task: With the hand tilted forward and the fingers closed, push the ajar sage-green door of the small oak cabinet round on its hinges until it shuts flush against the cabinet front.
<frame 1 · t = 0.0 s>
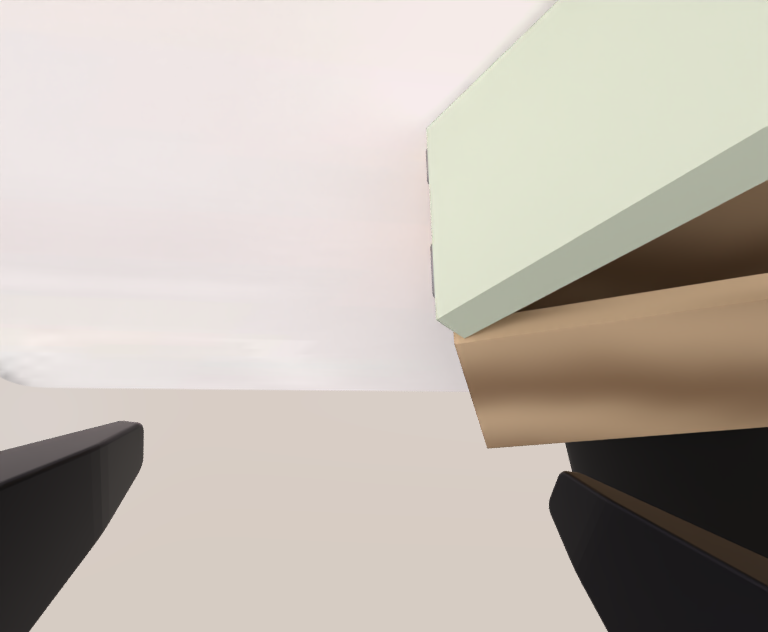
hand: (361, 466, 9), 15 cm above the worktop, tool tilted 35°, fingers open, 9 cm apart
cabinet: (620, 178, 20), on the worktop
coffee jar: (620, 319, 28), on the worktop
door: (668, 7, 10), point 6 cm above the worktop, hinge at 30.0°
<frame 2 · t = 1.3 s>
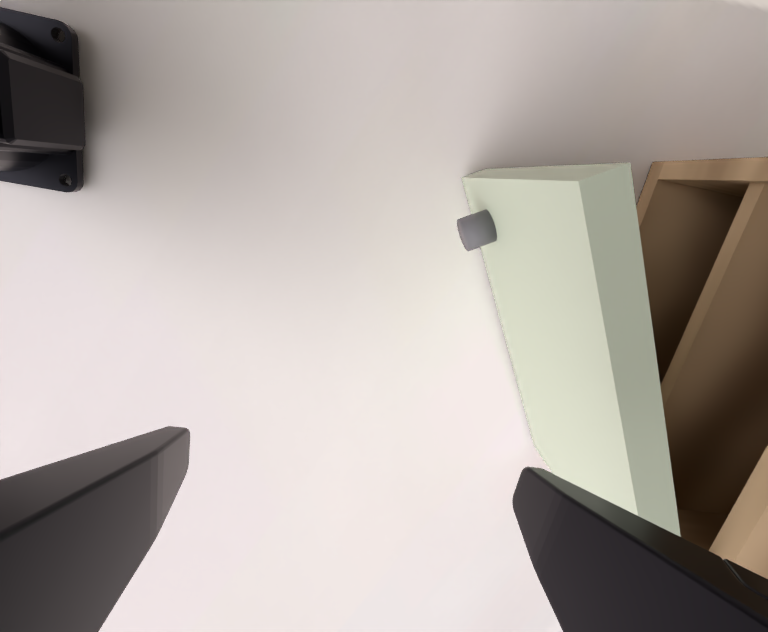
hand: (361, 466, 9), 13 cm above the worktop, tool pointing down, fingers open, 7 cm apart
cabinet: (662, 327, 23), on the worktop
door: (547, 377, 17), point 6 cm above the worktop, hinge at 30.0°
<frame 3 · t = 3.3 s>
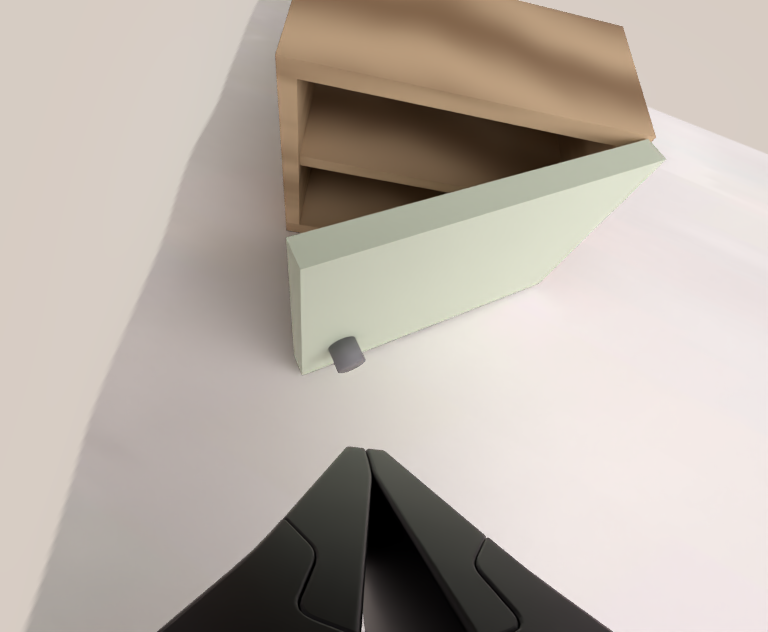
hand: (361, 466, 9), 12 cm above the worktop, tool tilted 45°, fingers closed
cabinet: (415, 202, 28), on the worktop
door: (468, 278, 19), point 6 cm above the worktop, hinge at 30.0°
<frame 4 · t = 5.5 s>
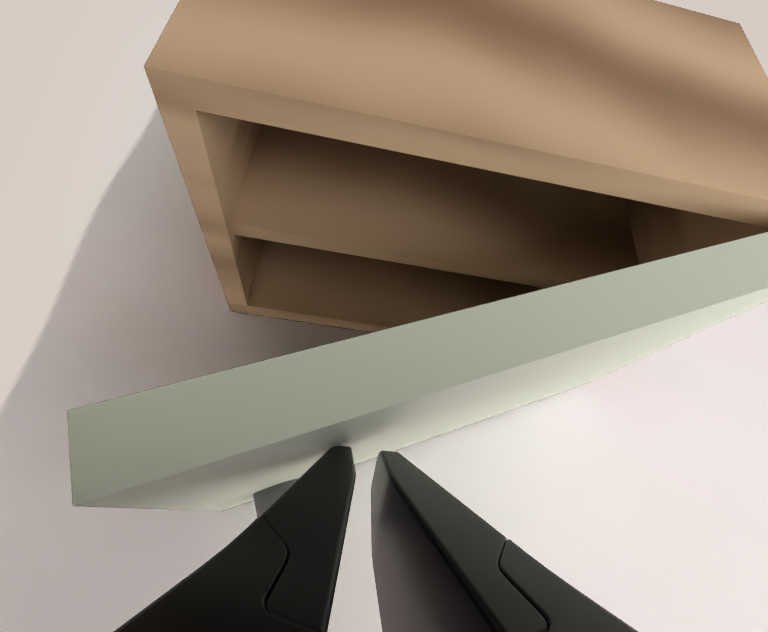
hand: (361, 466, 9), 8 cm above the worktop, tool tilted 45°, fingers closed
cabinet: (415, 264, 21), on the worktop
door: (485, 407, 12), point 6 cm above the worktop, hinge at 24.1°, touching gripper
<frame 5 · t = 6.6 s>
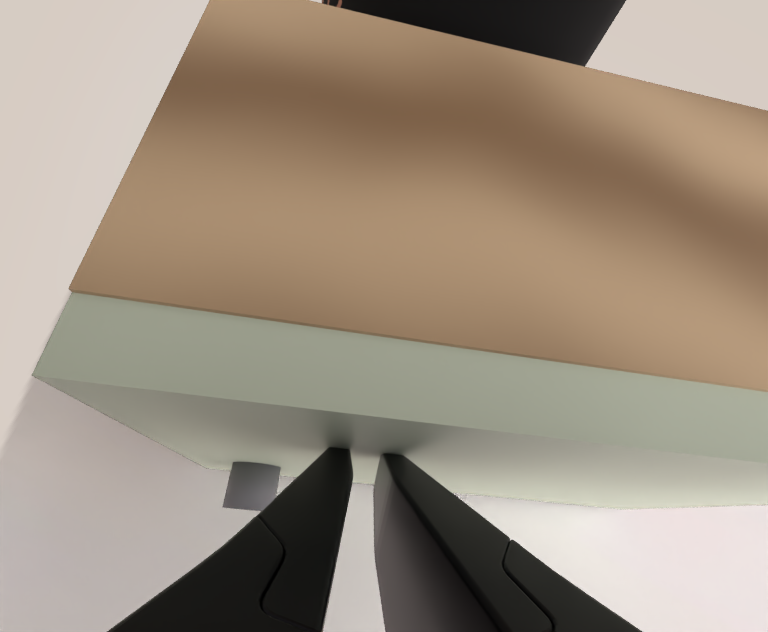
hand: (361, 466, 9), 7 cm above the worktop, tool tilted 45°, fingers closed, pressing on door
cabinet: (429, 362, 18), on the worktop
coffee jar: (411, 165, 23), on the worktop
door: (490, 478, 11), point 6 cm above the worktop, hinge at 0.0°, touching cabinet, gripper
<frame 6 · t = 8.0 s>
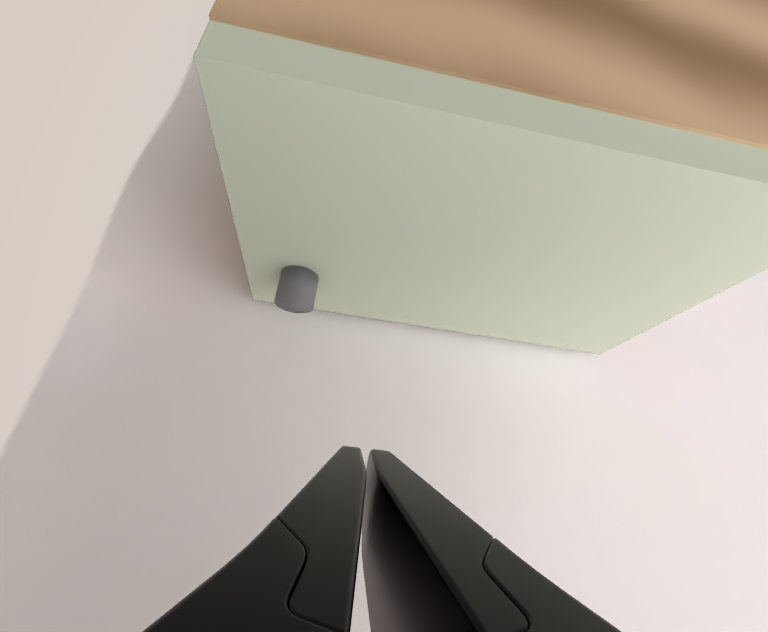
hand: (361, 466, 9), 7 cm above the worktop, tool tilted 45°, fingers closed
cabinet: (437, 237, 21), on the worktop
door: (487, 268, 14), point 6 cm above the worktop, hinge at 0.0°, touching cabinet
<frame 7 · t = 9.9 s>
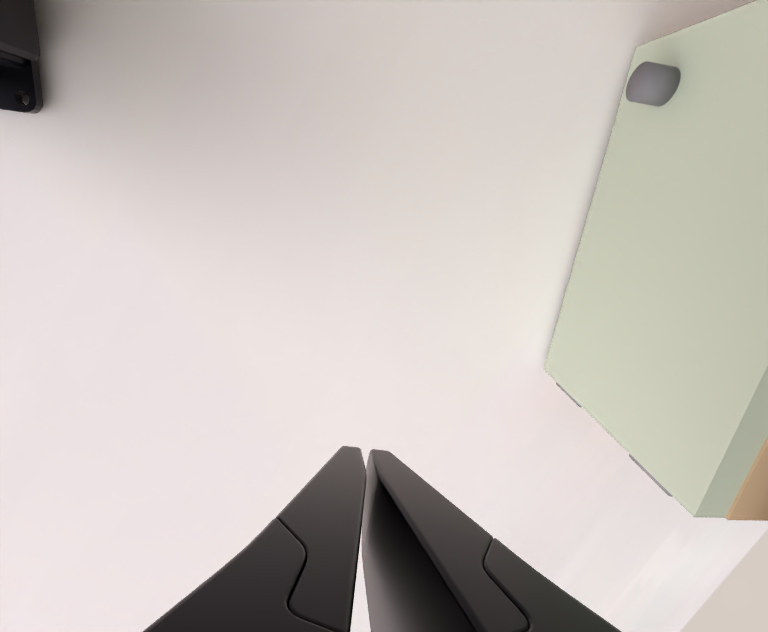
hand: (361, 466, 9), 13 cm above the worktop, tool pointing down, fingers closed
cabinet: (669, 238, 22), on the worktop
door: (658, 253, 16), point 6 cm above the worktop, hinge at 0.0°, touching cabinet
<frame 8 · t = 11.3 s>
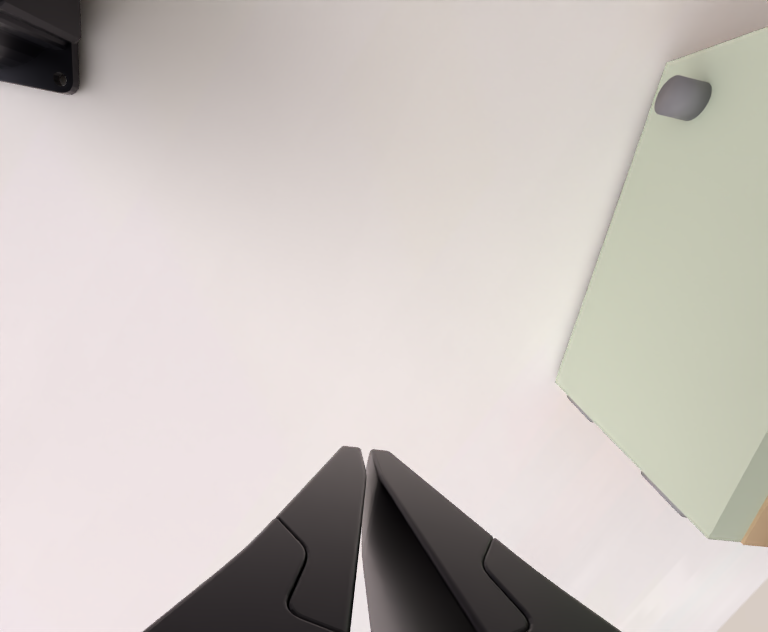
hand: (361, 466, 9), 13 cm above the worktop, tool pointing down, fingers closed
cabinet: (691, 257, 22), on the worktop
door: (681, 267, 16), point 6 cm above the worktop, hinge at 0.0°, touching cabinet
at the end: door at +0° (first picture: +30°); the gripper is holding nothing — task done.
